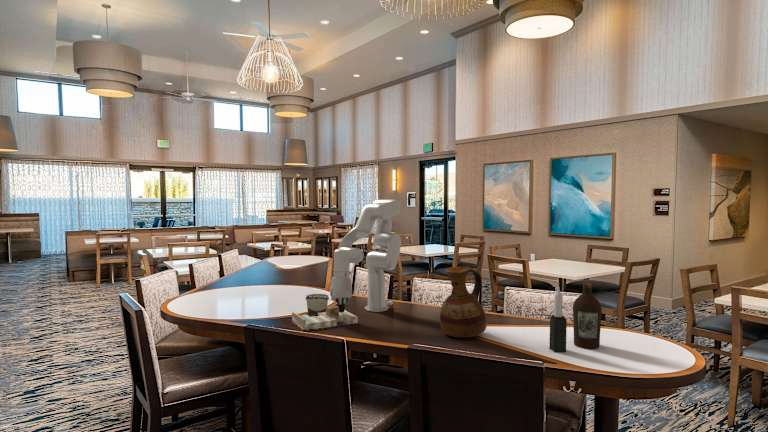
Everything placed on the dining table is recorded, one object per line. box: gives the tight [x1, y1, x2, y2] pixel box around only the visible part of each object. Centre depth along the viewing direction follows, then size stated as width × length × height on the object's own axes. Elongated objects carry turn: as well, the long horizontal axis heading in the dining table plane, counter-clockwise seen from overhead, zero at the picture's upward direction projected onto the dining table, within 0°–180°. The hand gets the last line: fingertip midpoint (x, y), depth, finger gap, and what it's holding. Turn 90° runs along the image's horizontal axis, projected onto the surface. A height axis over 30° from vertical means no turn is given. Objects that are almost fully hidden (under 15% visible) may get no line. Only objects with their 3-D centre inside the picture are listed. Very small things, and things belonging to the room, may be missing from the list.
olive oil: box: [572, 283, 603, 350], centre depth 173 cm, size 11×11×25 cm
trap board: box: [291, 309, 359, 331], centre depth 205 cm, size 27×16×5 cm, turn 120°
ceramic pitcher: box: [439, 266, 487, 338], centre depth 187 cm, size 20×20×30 cm
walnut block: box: [326, 305, 339, 317], centre depth 208 cm, size 5×5×4 cm
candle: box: [549, 286, 568, 353], centre depth 167 cm, size 5×5×25 cm
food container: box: [305, 293, 330, 316], centre depth 222 cm, size 12×6×10 cm, turn 84°
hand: (341, 311), depth 209 cm, fingers closed
